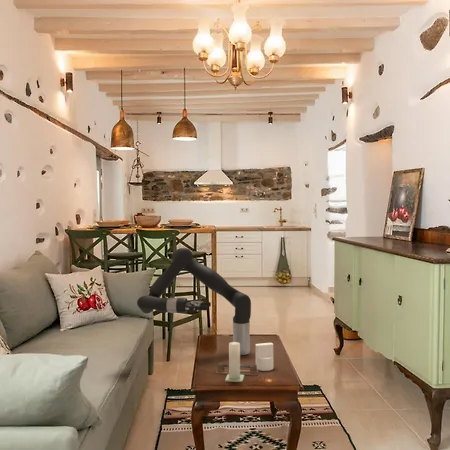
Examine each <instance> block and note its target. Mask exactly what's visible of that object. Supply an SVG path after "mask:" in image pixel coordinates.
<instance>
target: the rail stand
mask: <svg viewBox="0 0 450 450" xmlns="http://www.w3.org/2000/svg"><path fill="white" fill-rule="evenodd" d="M219 364H225V363H223V362H218V364H216V365H217V367H216V369H217V370H216V372H215V374H217V375H228V374H229V368H225V367H224V365H219ZM253 365H254V366H255V367H254V366H250V368H249V369H240V375H244V376H253V377H254V376H255V377H256V376H258V374H259V370H257V365H256V364H253Z"/></svg>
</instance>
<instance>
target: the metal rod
mask: <svg viewBox="0 0 450 450" xmlns="http://www.w3.org/2000/svg"><path fill="white" fill-rule="evenodd" d="M219 365H224V368H225V367H226V368H229V363H224V364H219ZM254 365H255V364H250V365H249V364H240V368H247V369H248V368H249V369H250V366H254ZM254 367H255V366H254Z"/></svg>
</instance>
